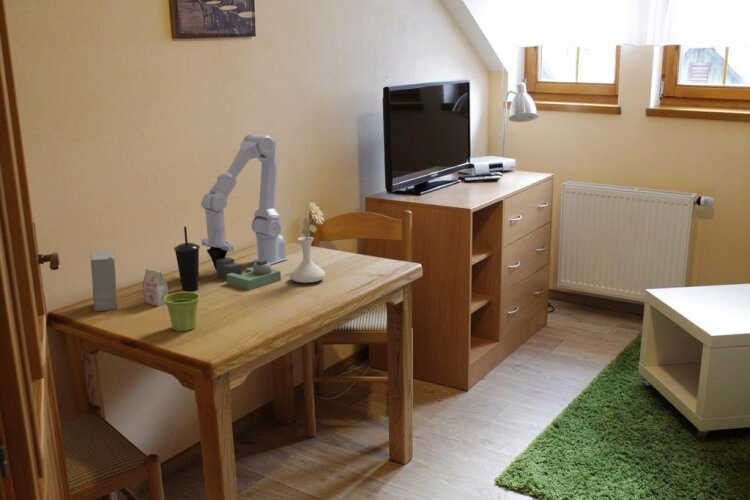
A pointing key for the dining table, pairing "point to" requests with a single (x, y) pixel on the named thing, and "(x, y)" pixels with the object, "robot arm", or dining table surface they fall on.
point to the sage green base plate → (255, 276)
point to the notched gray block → (227, 267)
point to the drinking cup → (188, 264)
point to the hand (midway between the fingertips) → (219, 269)
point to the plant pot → (182, 310)
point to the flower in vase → (307, 268)
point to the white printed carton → (154, 288)
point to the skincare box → (104, 280)
